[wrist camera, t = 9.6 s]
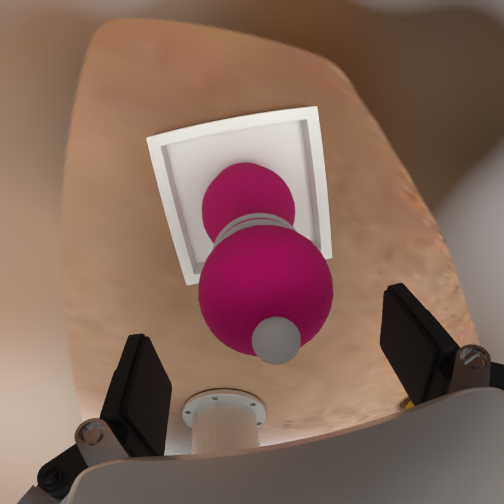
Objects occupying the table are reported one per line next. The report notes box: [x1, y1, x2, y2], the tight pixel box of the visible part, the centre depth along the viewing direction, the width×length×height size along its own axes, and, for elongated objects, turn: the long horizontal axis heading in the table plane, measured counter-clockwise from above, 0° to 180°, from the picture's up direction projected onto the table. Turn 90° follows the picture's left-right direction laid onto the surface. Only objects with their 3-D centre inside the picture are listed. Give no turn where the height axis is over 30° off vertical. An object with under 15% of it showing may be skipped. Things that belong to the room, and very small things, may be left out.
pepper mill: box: [199, 162, 333, 365], centre depth 19 cm, size 7×7×20 cm
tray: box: [146, 106, 332, 285], centre depth 28 cm, size 14×14×3 cm
